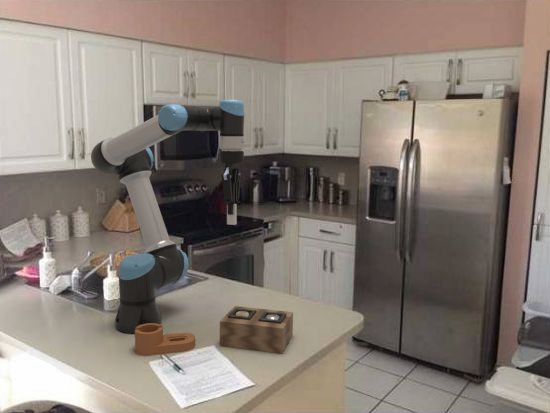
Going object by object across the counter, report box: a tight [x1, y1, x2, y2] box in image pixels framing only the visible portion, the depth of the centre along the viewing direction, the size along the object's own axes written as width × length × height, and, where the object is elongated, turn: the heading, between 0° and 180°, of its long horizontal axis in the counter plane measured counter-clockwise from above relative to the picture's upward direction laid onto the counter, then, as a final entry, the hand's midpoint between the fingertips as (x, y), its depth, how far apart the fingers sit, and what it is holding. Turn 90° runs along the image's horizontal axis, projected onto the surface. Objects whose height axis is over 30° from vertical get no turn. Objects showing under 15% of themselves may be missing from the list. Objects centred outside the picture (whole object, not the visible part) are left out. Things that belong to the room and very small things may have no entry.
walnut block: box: [219, 305, 294, 355], centre depth 158 cm, size 20×14×9 cm
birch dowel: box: [236, 311, 249, 317], centre depth 159 cm, size 4×4×8 cm
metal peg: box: [266, 314, 279, 320], centre depth 157 cm, size 4×4×8 cm
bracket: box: [134, 323, 196, 357], centre depth 152 cm, size 18×8×7 cm, turn 107°
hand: (231, 224), depth 160 cm, fingers closed
